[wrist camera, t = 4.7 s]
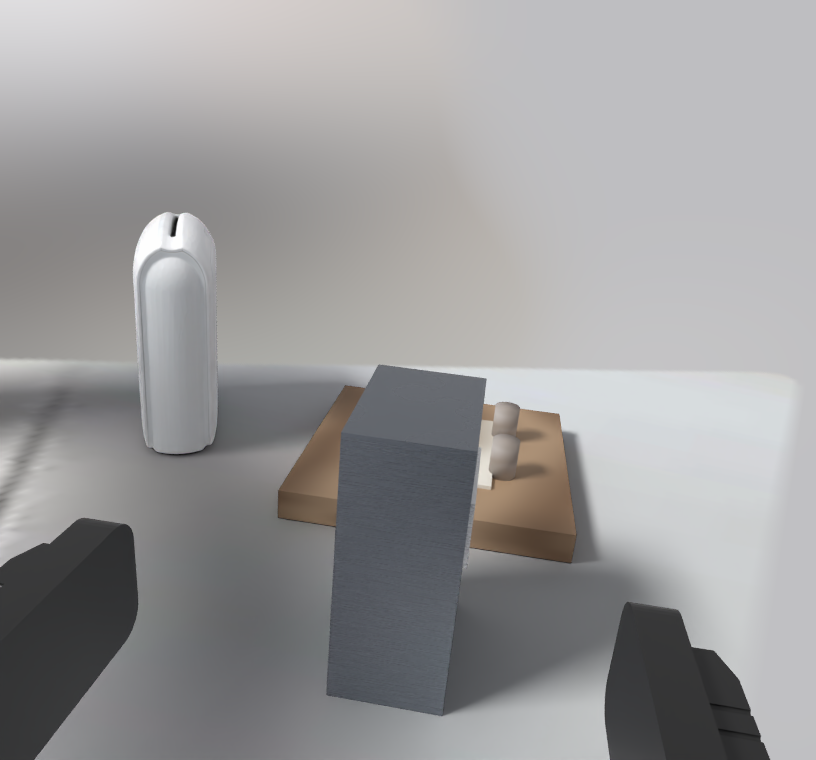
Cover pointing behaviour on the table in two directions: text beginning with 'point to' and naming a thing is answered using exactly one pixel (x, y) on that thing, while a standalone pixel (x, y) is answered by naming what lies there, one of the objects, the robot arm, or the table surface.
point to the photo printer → (176, 333)
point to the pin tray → (496, 491)
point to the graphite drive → (403, 535)
